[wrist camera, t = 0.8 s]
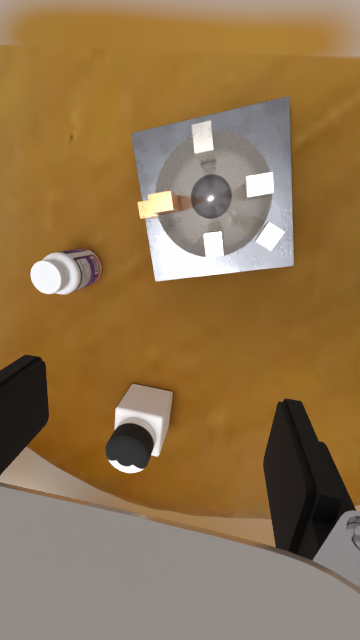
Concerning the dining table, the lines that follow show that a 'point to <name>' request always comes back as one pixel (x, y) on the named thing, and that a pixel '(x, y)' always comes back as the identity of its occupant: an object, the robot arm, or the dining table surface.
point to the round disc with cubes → (211, 193)
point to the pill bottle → (66, 271)
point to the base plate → (277, 232)
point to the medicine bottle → (139, 427)
